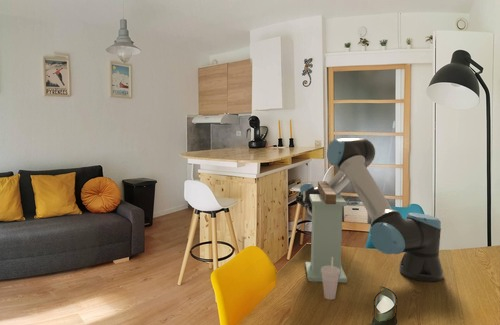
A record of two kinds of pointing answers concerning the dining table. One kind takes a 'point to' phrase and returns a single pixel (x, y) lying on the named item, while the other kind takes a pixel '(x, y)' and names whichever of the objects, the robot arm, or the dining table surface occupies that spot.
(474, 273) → the dining table surface
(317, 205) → the stand
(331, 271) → the smoothie
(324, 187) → the walnut bar
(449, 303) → the dining table surface
